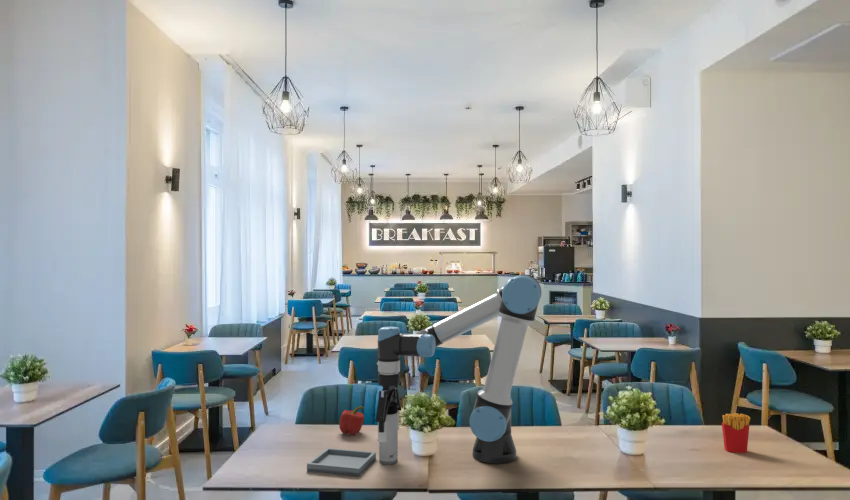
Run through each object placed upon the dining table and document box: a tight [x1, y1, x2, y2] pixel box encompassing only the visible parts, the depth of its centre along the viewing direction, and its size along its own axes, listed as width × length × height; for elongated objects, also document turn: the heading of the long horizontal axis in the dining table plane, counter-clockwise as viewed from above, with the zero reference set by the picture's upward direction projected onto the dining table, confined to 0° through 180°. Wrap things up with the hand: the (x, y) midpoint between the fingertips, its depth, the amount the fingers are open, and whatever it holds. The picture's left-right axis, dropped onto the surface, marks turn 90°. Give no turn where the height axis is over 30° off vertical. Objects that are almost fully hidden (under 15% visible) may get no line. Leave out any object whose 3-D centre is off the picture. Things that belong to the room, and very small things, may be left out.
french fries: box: [721, 412, 751, 454], centre depth 205 cm, size 9×4×13 cm, turn 85°
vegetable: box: [338, 405, 365, 436], centre depth 227 cm, size 11×10×10 cm
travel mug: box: [378, 402, 399, 466], centre depth 195 cm, size 6×7×20 cm
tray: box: [306, 447, 377, 477], centre depth 192 cm, size 18×16×2 cm
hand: (388, 435), depth 195 cm, fingers open, 13 cm apart
